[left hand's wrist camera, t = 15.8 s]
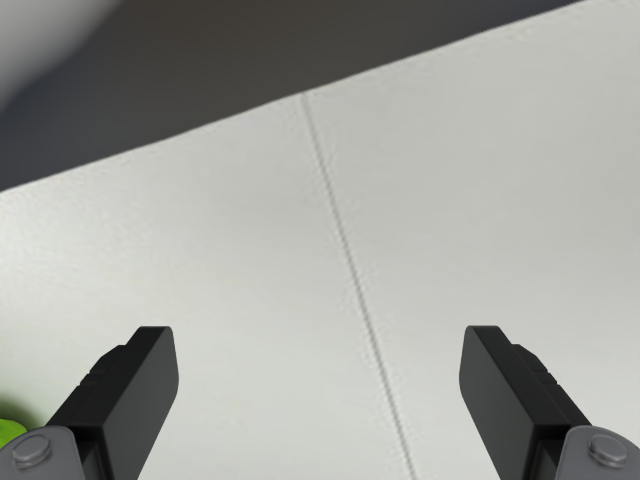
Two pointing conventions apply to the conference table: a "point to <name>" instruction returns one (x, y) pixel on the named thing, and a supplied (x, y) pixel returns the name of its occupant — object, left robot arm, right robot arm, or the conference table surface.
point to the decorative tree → (9, 431)
